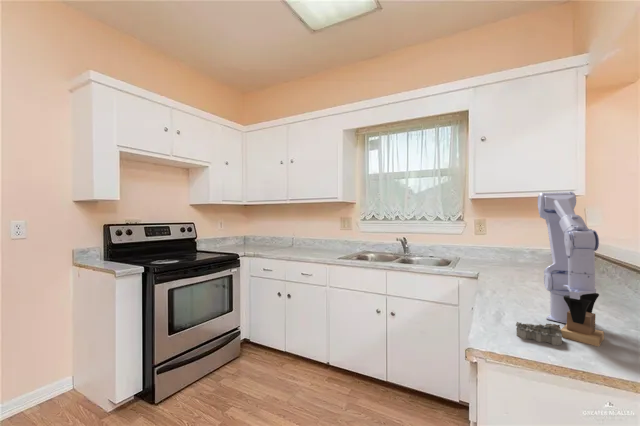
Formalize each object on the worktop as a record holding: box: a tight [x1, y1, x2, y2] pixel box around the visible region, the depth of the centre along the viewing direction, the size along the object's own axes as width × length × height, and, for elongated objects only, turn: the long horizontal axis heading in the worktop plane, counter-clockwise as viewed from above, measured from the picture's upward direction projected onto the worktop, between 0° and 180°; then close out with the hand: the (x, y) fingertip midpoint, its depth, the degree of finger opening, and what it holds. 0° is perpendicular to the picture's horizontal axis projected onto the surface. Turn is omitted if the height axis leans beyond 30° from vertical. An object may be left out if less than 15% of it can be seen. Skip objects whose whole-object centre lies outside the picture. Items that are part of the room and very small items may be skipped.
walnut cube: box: [567, 311, 596, 335], centre depth 82 cm, size 5×5×5 cm
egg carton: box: [515, 321, 563, 346], centre depth 82 cm, size 11×8×4 cm
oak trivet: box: [561, 323, 605, 347], centre depth 82 cm, size 8×8×2 cm
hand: (581, 319), depth 82 cm, fingers open, 7 cm apart
